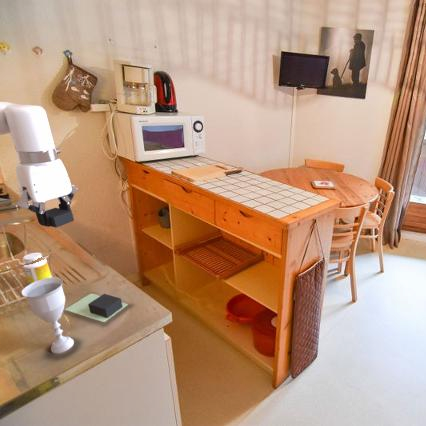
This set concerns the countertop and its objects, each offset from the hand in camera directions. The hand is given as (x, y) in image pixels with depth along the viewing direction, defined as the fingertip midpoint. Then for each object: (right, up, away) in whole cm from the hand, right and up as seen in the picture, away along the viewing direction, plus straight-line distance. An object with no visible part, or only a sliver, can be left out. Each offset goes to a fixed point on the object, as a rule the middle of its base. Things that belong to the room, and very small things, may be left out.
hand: (56, 220), depth 87 cm
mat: (+9, -25, +3) cm, 27 cm away
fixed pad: (+12, -25, +2) cm, 28 cm away
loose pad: (0, 0, 0) cm, 0 cm away
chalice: (+10, -31, -10) cm, 34 cm away
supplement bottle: (-14, -20, +12) cm, 27 cm away
